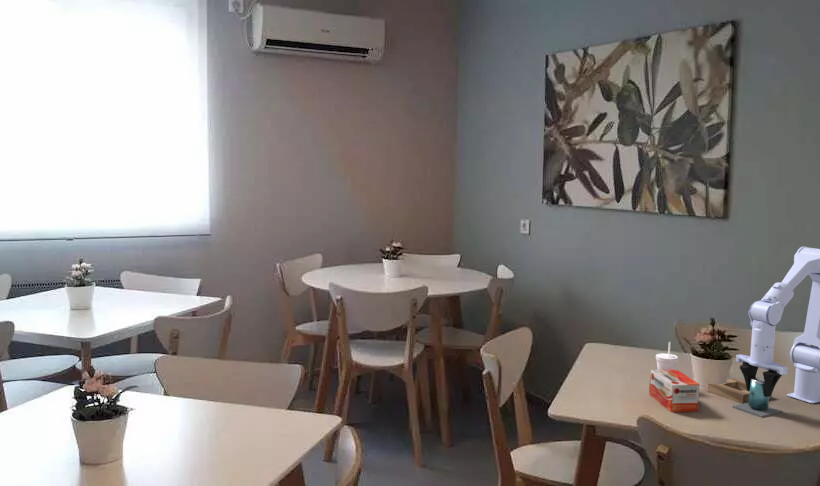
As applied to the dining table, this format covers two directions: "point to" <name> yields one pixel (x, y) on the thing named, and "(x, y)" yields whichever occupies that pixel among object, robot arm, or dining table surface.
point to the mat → (757, 410)
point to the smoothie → (666, 360)
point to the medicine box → (674, 390)
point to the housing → (731, 390)
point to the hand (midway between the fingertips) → (758, 393)
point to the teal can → (757, 394)
